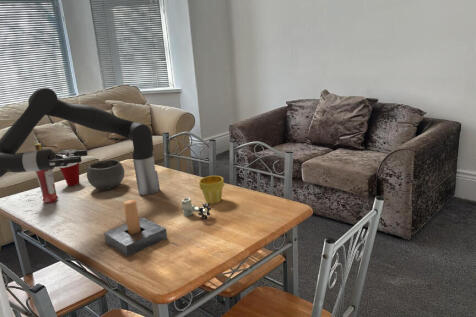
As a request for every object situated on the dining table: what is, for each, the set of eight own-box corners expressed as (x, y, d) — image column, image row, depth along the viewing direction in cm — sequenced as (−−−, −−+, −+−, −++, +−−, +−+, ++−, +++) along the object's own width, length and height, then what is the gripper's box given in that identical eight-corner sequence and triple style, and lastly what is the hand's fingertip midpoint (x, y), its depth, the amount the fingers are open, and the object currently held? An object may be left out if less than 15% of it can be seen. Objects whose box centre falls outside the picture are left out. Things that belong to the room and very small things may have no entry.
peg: (138, 236, 154) (131, 198, 150) (144, 240, 151) (138, 201, 147) (127, 241, 151) (120, 202, 147) (133, 244, 148) (127, 205, 144)
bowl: (111, 179, 221) (107, 156, 218) (134, 184, 211) (130, 160, 207) (82, 191, 208) (77, 166, 204) (105, 196, 197) (100, 171, 194)
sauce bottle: (47, 198, 201) (34, 142, 193) (61, 197, 201) (49, 141, 193) (39, 204, 194) (25, 146, 186) (55, 203, 194) (41, 145, 186)
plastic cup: (61, 183, 222) (57, 162, 219) (83, 179, 226) (78, 158, 223) (62, 189, 212) (57, 167, 209) (84, 185, 216) (80, 163, 213)
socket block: (143, 226, 162) (142, 217, 161) (167, 238, 151) (165, 228, 149) (105, 242, 152) (103, 232, 151) (127, 256, 140) (125, 245, 139)
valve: (178, 216, 168) (201, 222, 161) (176, 201, 166) (199, 206, 159) (189, 210, 173) (212, 216, 166) (188, 195, 171) (210, 200, 164)
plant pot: (211, 207, 174) (209, 185, 171) (196, 201, 182) (194, 180, 179) (230, 199, 180) (228, 178, 178) (215, 194, 188) (213, 173, 185)
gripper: (29, 156, 145) (77, 151, 147) (43, 145, 159) (87, 141, 160) (34, 176, 148) (81, 171, 149) (47, 164, 161) (90, 160, 162)
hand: (84, 155), depth 154 cm, fingers open, 8 cm apart
